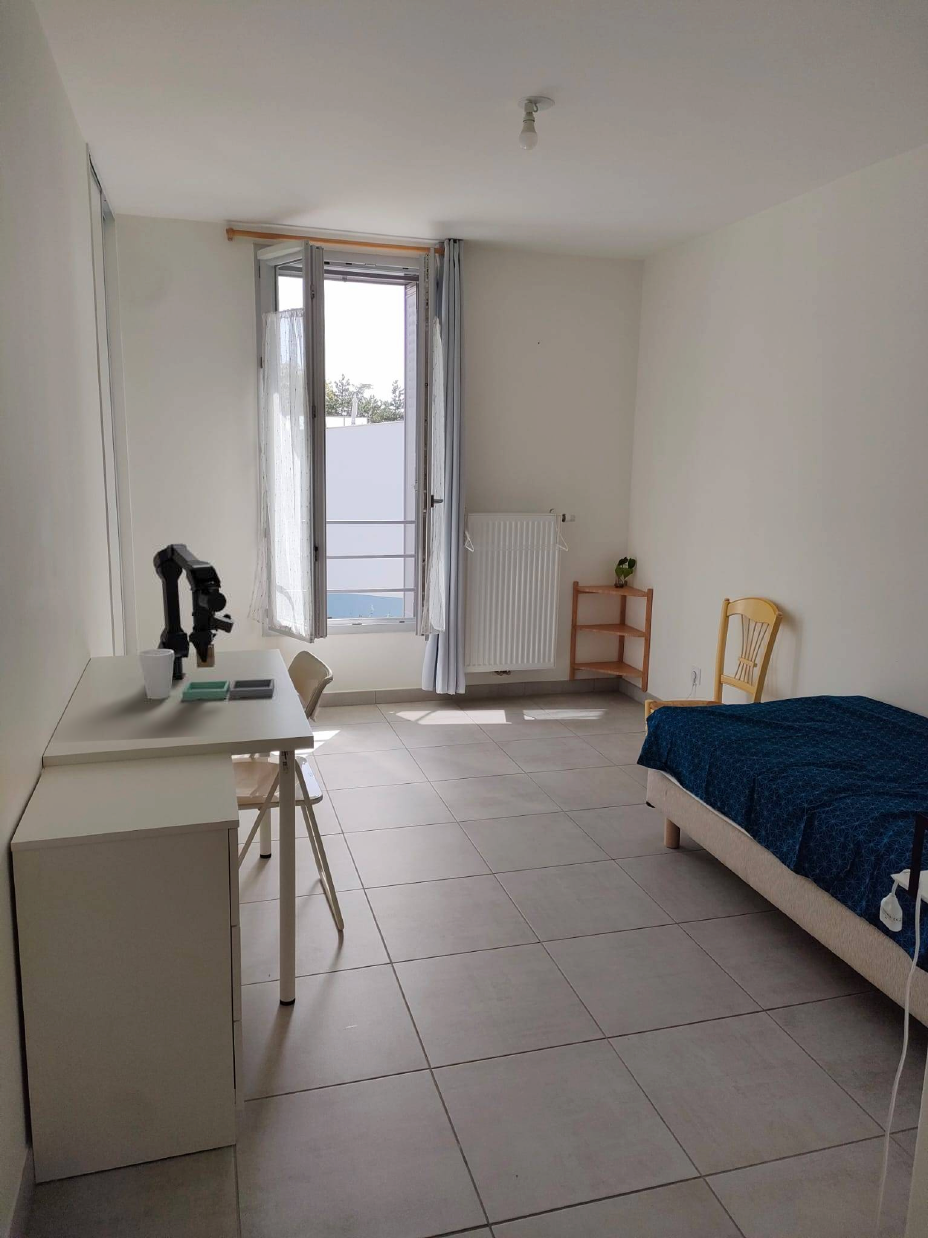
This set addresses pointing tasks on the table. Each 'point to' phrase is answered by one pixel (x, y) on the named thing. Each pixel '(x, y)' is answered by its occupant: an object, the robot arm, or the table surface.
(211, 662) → the walnut block
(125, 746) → the table surface
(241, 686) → the tray
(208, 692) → the tray
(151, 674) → the foam cup
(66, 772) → the table surface
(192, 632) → the robot arm
